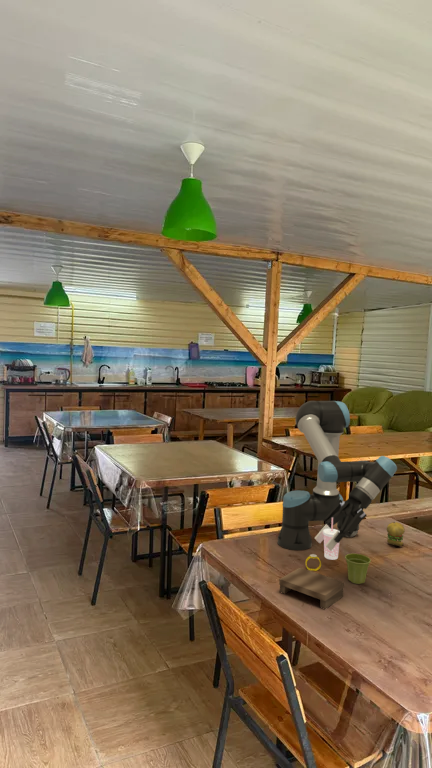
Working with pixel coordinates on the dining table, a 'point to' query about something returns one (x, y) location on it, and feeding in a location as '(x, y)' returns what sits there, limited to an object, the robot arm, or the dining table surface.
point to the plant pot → (357, 567)
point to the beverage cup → (327, 536)
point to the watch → (313, 558)
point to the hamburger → (395, 533)
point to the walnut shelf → (313, 586)
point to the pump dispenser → (340, 522)
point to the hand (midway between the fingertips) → (322, 544)
